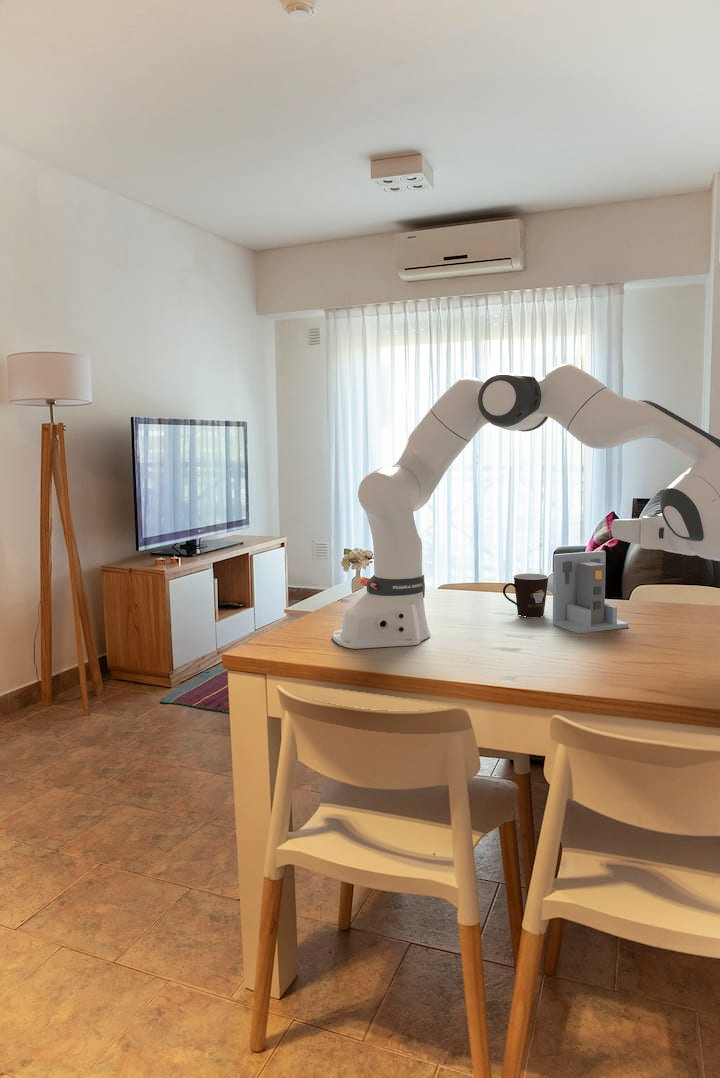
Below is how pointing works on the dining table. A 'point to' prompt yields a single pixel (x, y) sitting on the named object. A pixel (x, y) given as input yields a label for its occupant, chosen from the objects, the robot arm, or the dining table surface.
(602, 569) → the grey tall rectangular block
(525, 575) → the coffee mug
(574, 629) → the grey l-shaped stand
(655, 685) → the dining table surface
